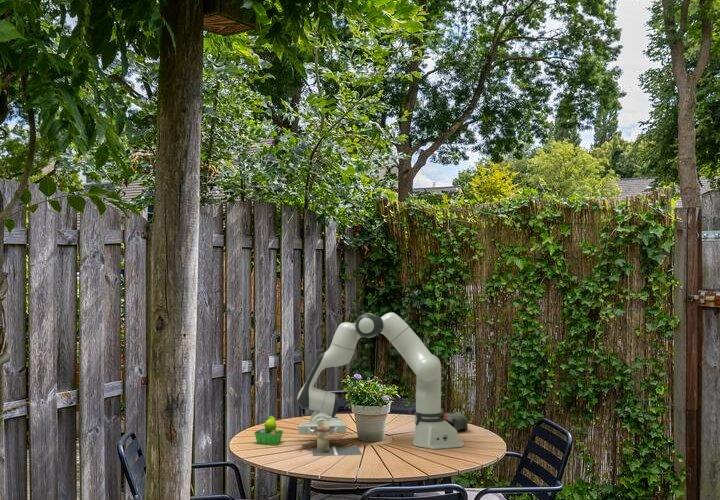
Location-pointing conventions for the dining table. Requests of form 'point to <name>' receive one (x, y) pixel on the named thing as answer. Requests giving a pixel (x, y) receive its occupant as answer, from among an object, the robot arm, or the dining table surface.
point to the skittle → (323, 436)
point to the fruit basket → (269, 433)
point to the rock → (457, 420)
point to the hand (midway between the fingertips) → (323, 432)
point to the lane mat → (338, 451)
